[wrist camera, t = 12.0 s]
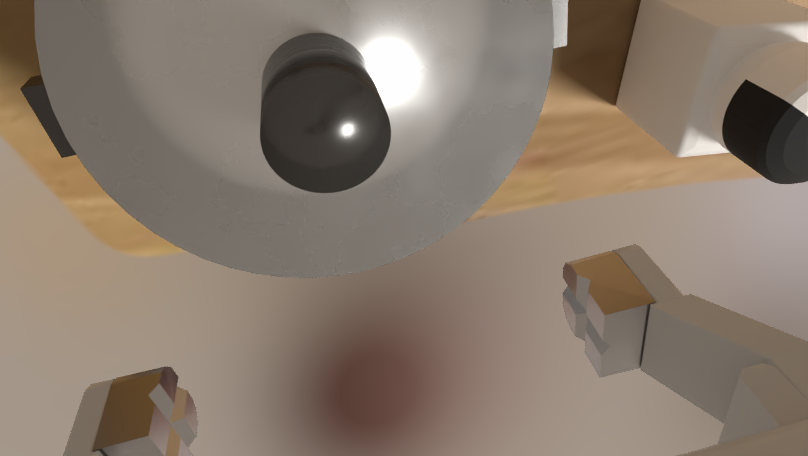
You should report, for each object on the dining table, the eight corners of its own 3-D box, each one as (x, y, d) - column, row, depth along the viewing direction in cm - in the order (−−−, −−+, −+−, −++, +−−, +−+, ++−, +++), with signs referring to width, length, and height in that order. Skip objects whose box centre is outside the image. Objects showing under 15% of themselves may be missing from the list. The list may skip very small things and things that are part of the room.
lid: (-84, -173, 15) (-215, -170, 11) (546, -273, 17) (638, -304, 12) (169, 297, 26) (150, 387, 22) (538, 214, 27) (585, 284, 23)
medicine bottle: (711, 99, 38) (860, 194, 28) (612, 107, 36) (733, 208, 27) (750, -14, 33) (941, 52, 24) (640, -9, 32) (794, 63, 23)
